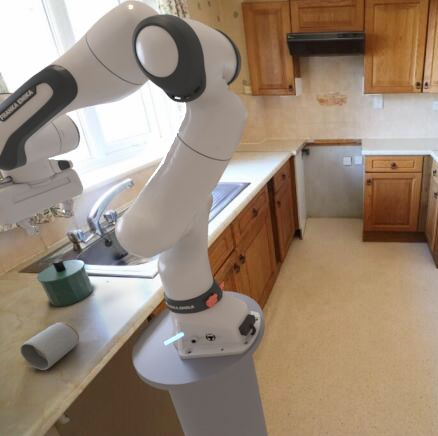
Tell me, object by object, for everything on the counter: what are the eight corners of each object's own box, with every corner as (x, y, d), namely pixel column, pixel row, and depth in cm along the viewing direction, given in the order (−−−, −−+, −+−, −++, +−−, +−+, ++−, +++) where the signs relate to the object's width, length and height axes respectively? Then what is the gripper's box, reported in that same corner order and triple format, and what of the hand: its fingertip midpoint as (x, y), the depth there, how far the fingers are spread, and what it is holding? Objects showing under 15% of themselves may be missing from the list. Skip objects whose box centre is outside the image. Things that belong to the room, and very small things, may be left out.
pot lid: (94, 263, 98) (89, 251, 96) (63, 285, 88) (57, 272, 86) (62, 262, 99) (56, 250, 97) (28, 283, 89) (21, 271, 88)
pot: (100, 285, 101) (91, 262, 97) (73, 307, 92) (62, 282, 88) (71, 284, 102) (61, 261, 98) (42, 305, 93) (29, 281, 89)
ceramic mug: (86, 344, 78) (74, 320, 75) (54, 372, 71) (39, 346, 68) (51, 339, 81) (38, 315, 77) (17, 366, 73) (1, 341, 70)
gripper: (-9, 185, 63) (22, 246, 69) (77, 158, 81) (96, 208, 87) (-36, 185, 64) (-3, 245, 70) (55, 159, 82) (75, 208, 88)
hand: (53, 225), depth 79 cm, fingers open, 8 cm apart
